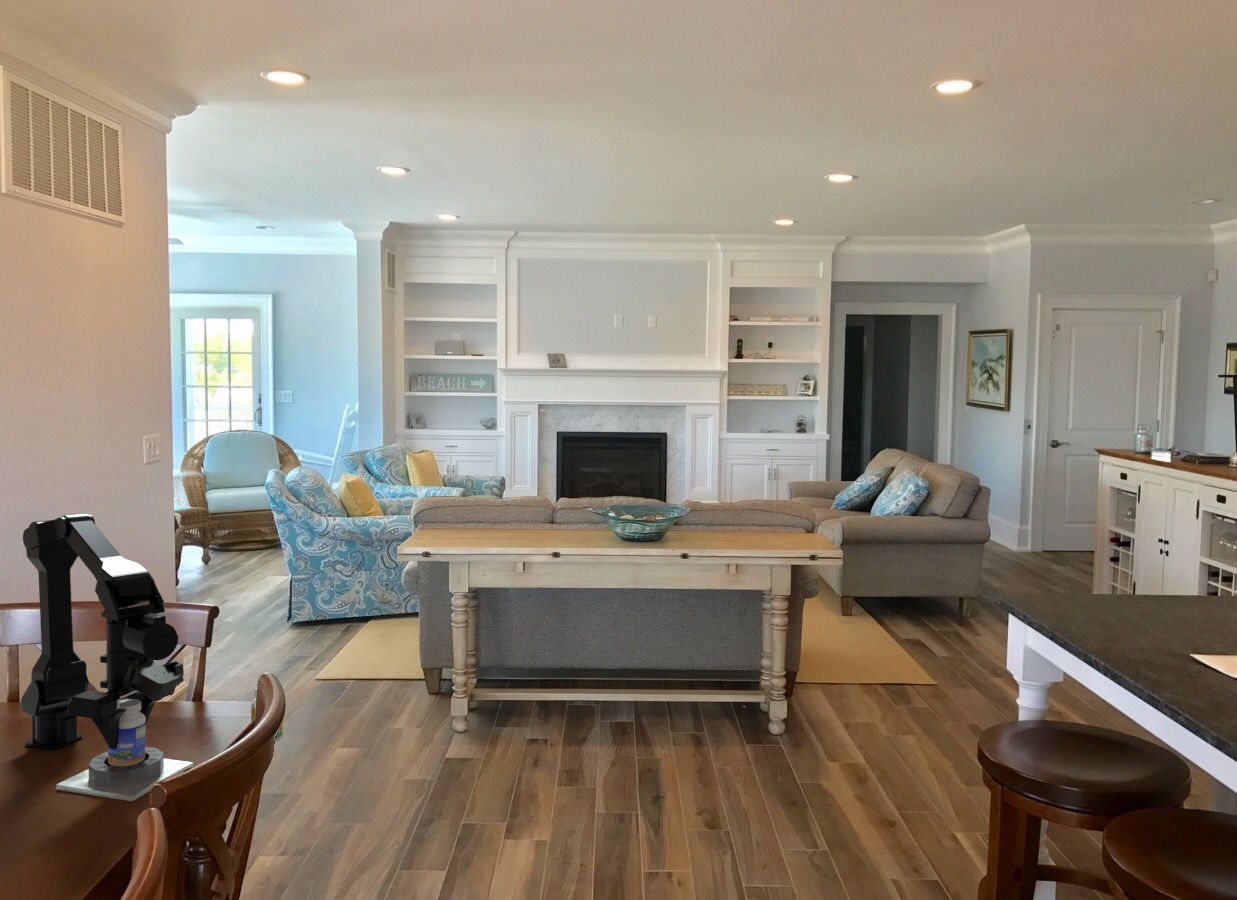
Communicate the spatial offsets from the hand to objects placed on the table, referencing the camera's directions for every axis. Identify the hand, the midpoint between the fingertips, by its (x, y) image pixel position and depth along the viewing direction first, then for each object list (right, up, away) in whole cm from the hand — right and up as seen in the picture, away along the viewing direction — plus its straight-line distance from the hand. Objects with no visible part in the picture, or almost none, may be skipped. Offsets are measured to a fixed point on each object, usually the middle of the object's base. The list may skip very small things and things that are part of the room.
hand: (126, 742), depth 156 cm
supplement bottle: (+16, -5, +19) cm, 25 cm away
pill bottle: (0, -3, 0) cm, 3 cm away
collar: (0, -6, 0) cm, 6 cm away
